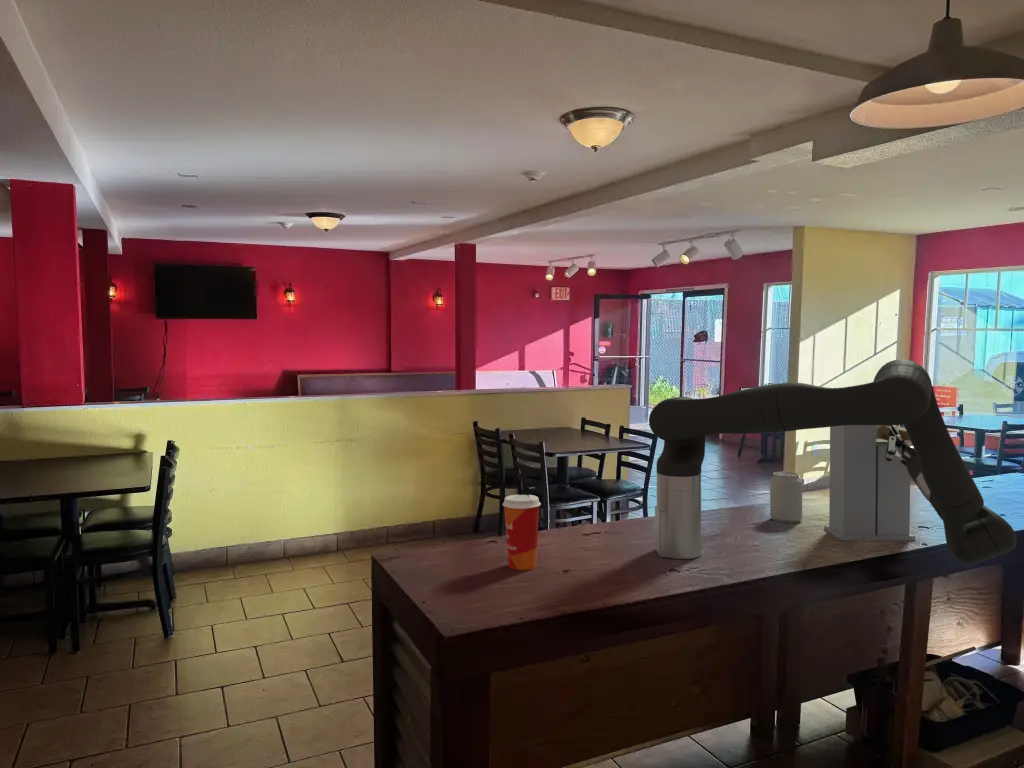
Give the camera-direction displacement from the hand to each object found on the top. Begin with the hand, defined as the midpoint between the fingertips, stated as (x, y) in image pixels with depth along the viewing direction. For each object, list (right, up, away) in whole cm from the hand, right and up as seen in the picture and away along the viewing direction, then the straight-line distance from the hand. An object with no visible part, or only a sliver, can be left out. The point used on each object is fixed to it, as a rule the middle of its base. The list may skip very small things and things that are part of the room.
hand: (900, 428), depth 155 cm
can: (-16, -25, +22) cm, 37 cm away
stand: (-3, -25, +8) cm, 26 cm away
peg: (0, -3, +3) cm, 4 cm away
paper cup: (-83, -27, -12) cm, 88 cm away
